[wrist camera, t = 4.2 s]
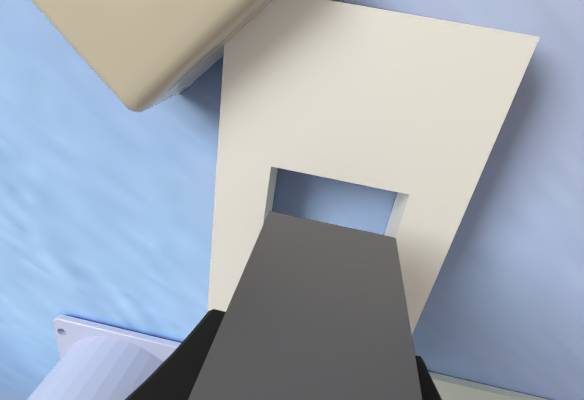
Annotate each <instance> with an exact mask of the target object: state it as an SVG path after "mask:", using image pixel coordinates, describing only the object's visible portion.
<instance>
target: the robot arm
mask: <svg viewBox="0 0 584 400" xmlns="http://www.w3.org/2000/svg"><path fill="white" fill-rule="evenodd" d="M225 313H226V312H225V311H220V310H216V309H212V310H210V311H208V312H207V314H206V315H205V316H204V318H203V319H202V320H201V321H200V322H199V324H198V325H197V326H196V327H195V328H194V330H193V331H192V332H191V333H190V334H189V335H188V336H187V338H186V339H185V340H184V341H183V342H182V343H179V342H175V341H171V340H167V339H163V338H158V337H154V336H150V335H146V334H142V333H137V332H133V331H129V330H125V329H121V328H117V327H112V326H108V325H104V324H100V323H96V322H91V321H87V320H83V319H79V318H75V317H71V316H66V315H58V316H57V317H56V318H55V319H54V320H53V326H54V331H55V336H56V341H57V346H58V351H59V356H60V361H59V362H58V363H57V364H56V365H55V367H54V368H53V369H52V370H51V371H50V373H49V374H48V375H47V376H46V377H45V379H44V380H43V381H42V382H41V383H40V385H39V386H38V387H37V388H36V389H35V391H34V392H33V393H32V394H31V395H30V396H29V398H28V399H27V400H188V399H189V396H190V394H191V392H192V389H193V387H194V385H195V382H196V380H197V378H198V376H199V373H200V371H201V369H202V366H203V364H204V362H205V359H206V357H207V355H208V352H209V350H210V348H211V345H212V343H213V341H214V338H215V336H216V334H217V331H218V329H219V327H220V324H221V322H222V320H223V317H224V315H225ZM415 358H416V364H417V371H418V377H419V383H420V389H421V395H422V400H442V399H441V397H440V394H439V392H438V390H437V388H436V386H435V384H434V382H433V380H432V378H431V376H430V374H429V372H428V370H427V368H426V365H425V363H424V361H423V360H422V358H421V357H420V356H416V355H415Z"/></svg>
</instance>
